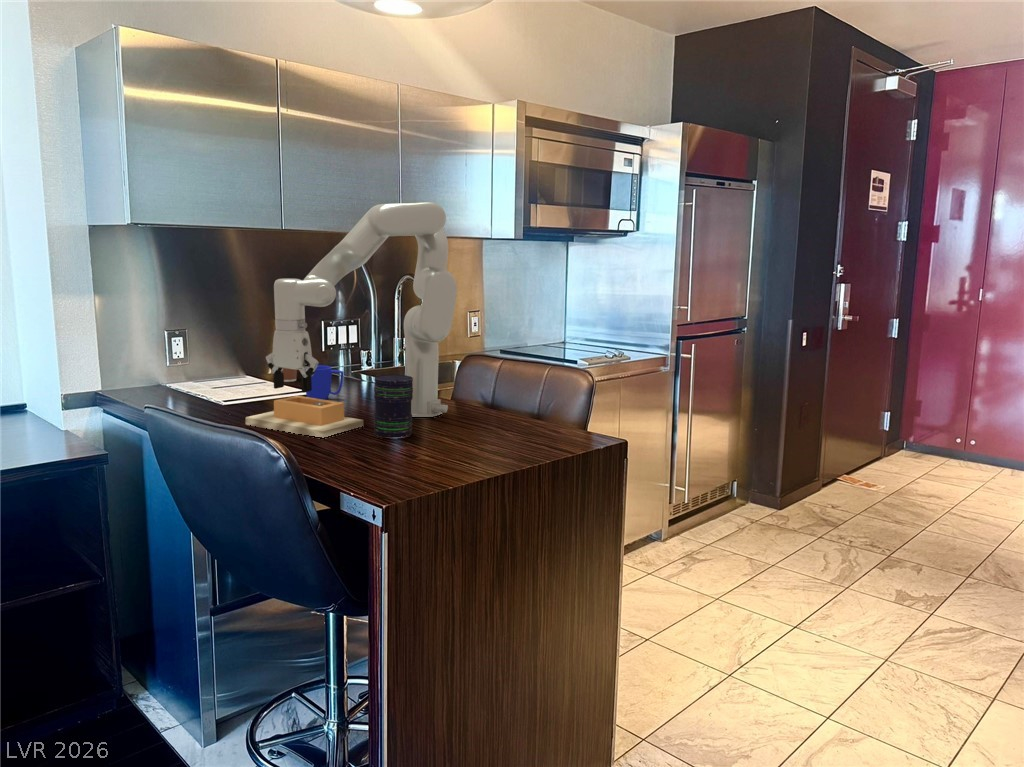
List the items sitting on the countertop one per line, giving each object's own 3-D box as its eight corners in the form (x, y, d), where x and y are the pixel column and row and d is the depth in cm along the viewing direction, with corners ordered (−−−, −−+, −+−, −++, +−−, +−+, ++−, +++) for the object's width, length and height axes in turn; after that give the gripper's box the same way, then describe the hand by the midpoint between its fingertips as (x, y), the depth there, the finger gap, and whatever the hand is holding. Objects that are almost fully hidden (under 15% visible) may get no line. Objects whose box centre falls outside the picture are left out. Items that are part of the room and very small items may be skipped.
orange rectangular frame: (344, 419, 201) (344, 402, 200) (321, 425, 193) (321, 408, 192) (297, 411, 208) (297, 395, 207) (273, 417, 200) (273, 400, 199)
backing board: (363, 427, 202) (363, 420, 201) (323, 439, 187) (323, 431, 187) (288, 414, 213) (288, 407, 213) (245, 424, 199) (245, 417, 198)
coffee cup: (293, 377, 272) (293, 344, 270) (304, 381, 266) (304, 347, 264) (268, 379, 267) (268, 345, 265) (279, 383, 260) (279, 348, 258)
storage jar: (370, 431, 198) (370, 374, 195) (407, 429, 201) (408, 374, 199) (377, 440, 189) (378, 381, 186) (416, 438, 192) (417, 380, 190)
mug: (339, 402, 232) (340, 370, 230) (300, 400, 232) (300, 368, 231) (346, 397, 240) (346, 366, 239) (308, 395, 240) (308, 364, 239)
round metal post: (325, 419, 199) (325, 403, 199) (319, 421, 197) (319, 404, 197) (318, 418, 201) (318, 401, 200) (312, 420, 198) (312, 403, 198)
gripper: (325, 326, 199) (327, 390, 202) (275, 322, 206) (278, 384, 210) (306, 329, 192) (308, 395, 195) (255, 325, 200) (258, 388, 203)
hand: (292, 389), depth 202 cm, fingers open, 9 cm apart
